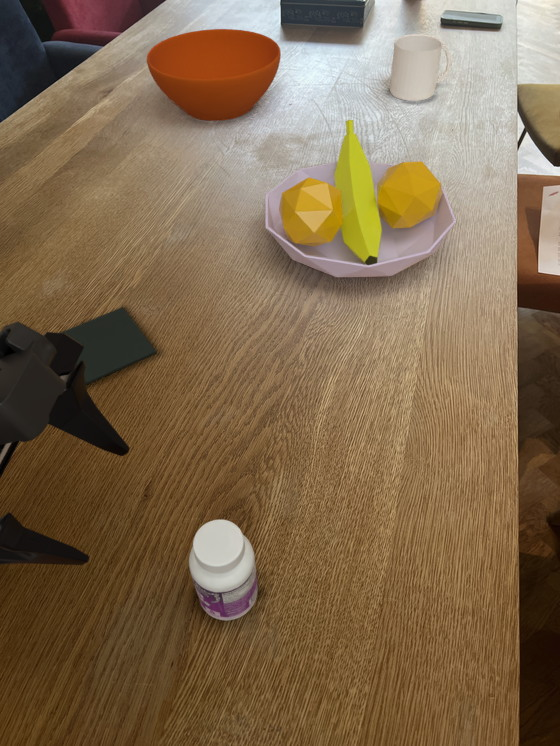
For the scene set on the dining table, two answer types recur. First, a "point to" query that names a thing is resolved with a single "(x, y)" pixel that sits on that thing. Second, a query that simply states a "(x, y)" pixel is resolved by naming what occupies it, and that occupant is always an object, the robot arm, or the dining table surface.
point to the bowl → (215, 71)
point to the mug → (417, 66)
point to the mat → (110, 344)
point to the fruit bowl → (359, 214)
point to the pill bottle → (223, 570)
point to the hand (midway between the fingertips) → (107, 503)
